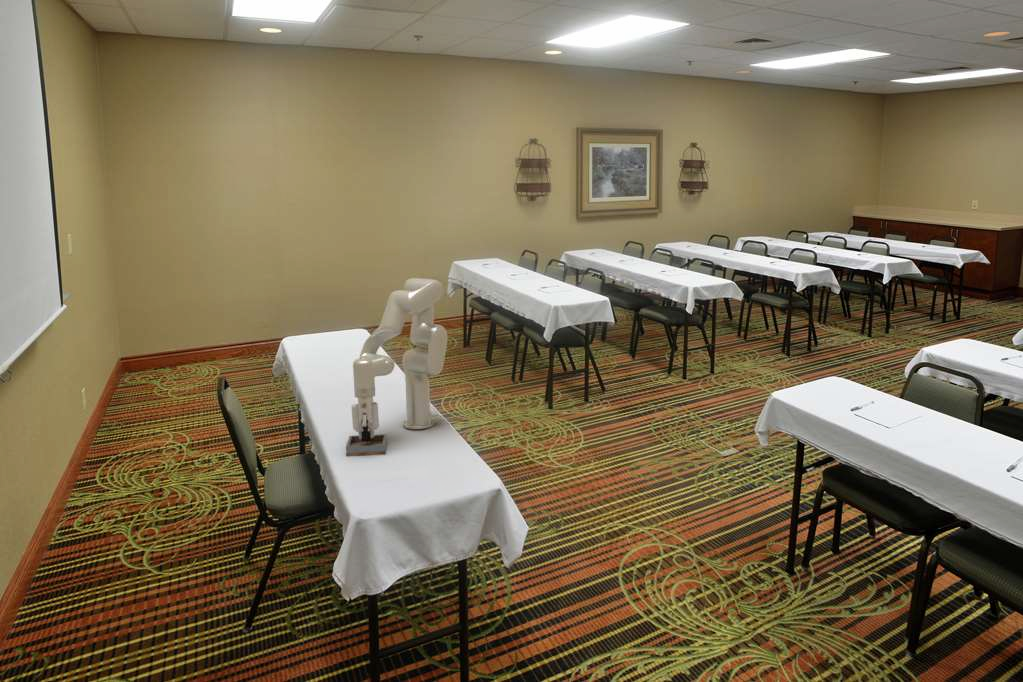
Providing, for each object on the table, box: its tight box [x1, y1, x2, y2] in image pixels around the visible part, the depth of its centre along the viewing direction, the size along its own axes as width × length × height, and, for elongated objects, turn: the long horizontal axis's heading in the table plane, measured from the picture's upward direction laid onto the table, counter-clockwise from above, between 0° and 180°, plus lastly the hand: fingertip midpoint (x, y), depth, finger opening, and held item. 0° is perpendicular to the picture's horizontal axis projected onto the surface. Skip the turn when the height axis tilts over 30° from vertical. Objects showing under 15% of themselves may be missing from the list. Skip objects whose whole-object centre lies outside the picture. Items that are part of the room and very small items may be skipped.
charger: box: [350, 401, 380, 444], centre depth 247 cm, size 5×9×15 cm, turn 112°
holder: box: [345, 433, 388, 457], centre depth 248 cm, size 14×12×4 cm
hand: (367, 437), depth 248 cm, fingers closed on charger, 5 cm apart
